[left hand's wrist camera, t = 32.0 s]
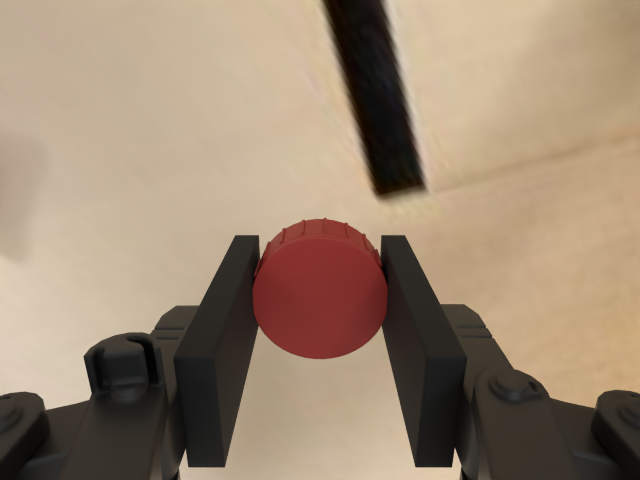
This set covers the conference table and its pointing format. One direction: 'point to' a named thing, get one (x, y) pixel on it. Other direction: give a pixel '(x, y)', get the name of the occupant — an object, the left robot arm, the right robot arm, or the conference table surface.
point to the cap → (320, 289)
